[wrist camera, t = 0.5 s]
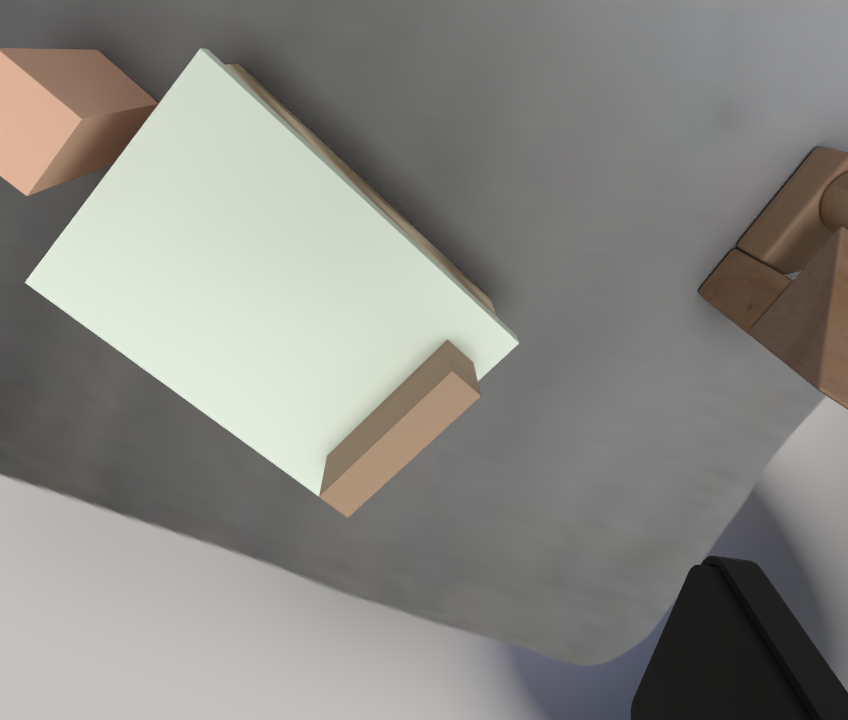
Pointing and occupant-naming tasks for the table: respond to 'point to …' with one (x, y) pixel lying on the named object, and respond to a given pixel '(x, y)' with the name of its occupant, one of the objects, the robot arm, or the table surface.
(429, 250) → the tan wooden low box
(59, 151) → the salmon rectangular block
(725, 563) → the robot arm
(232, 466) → the table surface
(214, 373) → the lid
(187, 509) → the table surface
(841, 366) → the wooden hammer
